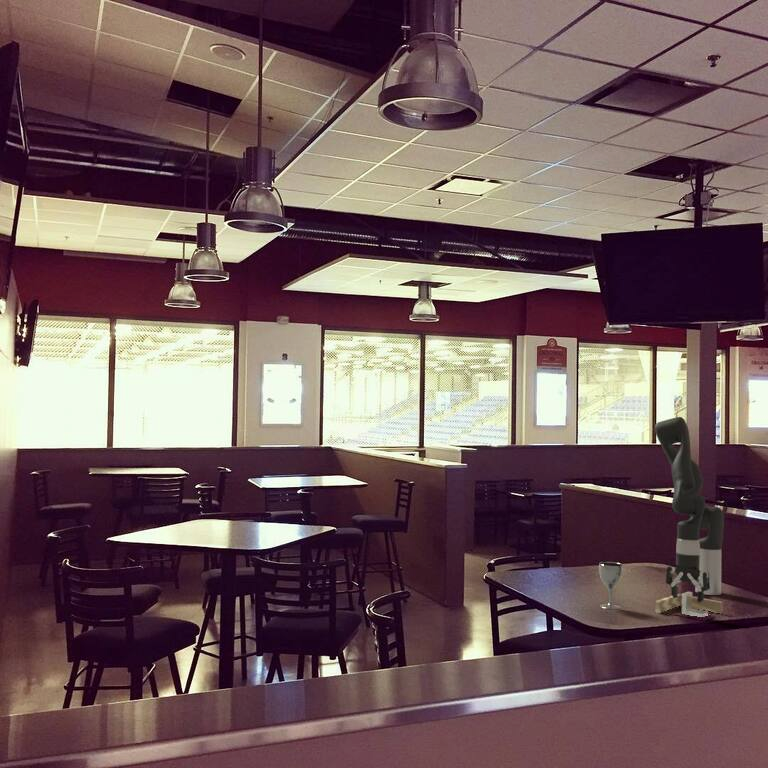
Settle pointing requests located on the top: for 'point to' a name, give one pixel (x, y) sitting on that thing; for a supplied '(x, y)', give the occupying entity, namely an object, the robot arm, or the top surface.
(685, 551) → the robot arm
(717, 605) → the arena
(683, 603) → the bracket
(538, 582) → the top surface
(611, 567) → the wine glass
